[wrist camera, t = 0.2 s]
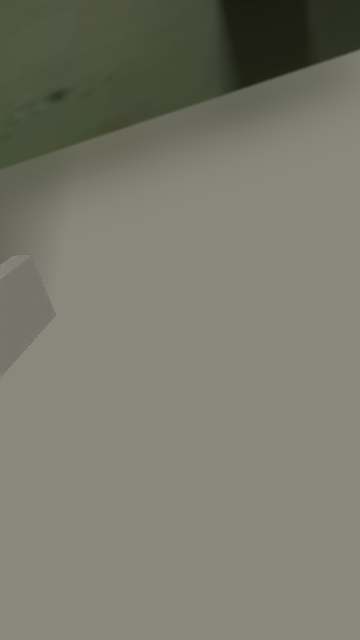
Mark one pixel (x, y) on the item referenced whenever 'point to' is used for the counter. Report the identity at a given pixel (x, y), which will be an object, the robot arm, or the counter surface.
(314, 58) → the counter surface
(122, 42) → the counter surface
